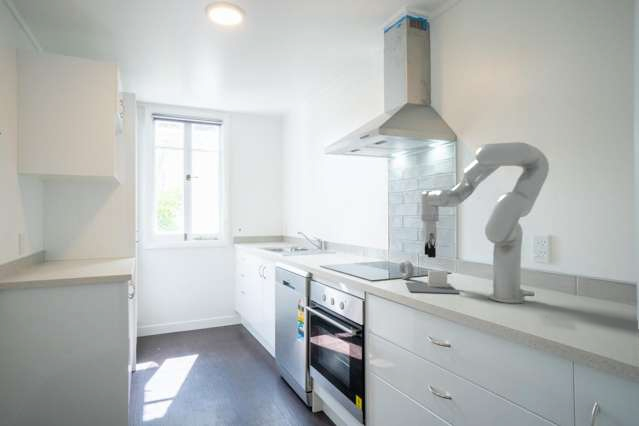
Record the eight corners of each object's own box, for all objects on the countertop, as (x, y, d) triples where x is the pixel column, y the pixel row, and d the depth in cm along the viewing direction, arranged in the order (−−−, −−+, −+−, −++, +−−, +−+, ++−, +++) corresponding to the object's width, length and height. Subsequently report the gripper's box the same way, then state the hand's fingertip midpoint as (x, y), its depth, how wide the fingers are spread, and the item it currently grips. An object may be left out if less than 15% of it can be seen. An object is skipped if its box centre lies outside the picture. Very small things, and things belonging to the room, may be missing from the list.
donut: (396, 278, 189) (396, 258, 189) (402, 277, 191) (402, 258, 191) (409, 281, 180) (409, 261, 180) (415, 280, 182) (415, 260, 182)
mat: (449, 284, 172) (449, 283, 172) (459, 294, 152) (459, 292, 152) (405, 283, 175) (405, 282, 175) (410, 292, 155) (410, 291, 155)
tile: (446, 286, 166) (446, 270, 166) (447, 287, 164) (447, 271, 164) (428, 285, 167) (428, 270, 167) (428, 286, 165) (428, 271, 165)
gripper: (418, 218, 175) (418, 253, 175) (424, 218, 158) (424, 258, 158) (435, 218, 174) (435, 254, 174) (442, 218, 157) (442, 258, 157)
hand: (429, 256), depth 166 cm, fingers open, 9 cm apart
